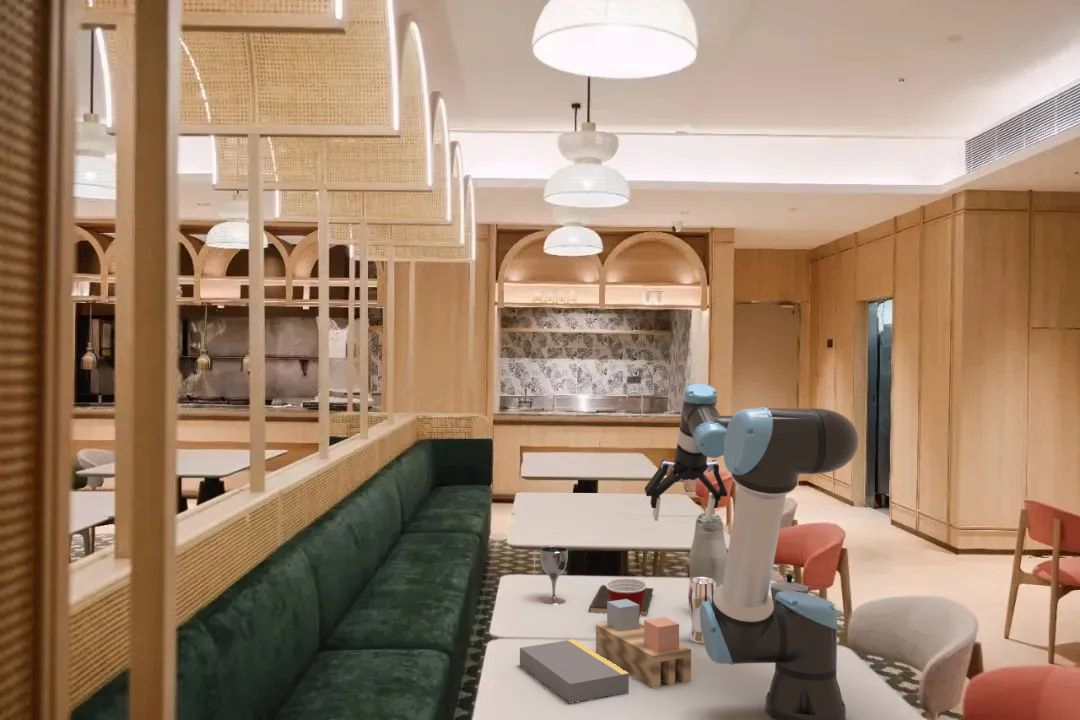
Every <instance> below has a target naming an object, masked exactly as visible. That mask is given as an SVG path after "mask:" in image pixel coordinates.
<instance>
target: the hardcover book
mask: <svg viewBox="0 0 1080 720" xmlns="http://www.w3.org/2000/svg"><path fill="white" fill-rule="evenodd" d="M653 593H654V588H651V587H650V588H649V587H647V588H646V589H645V593H644V597H643V602H642V608H641V614H640V615H641V616H640V617H646V615H647V613H646V612H648V608H649V606H650V603H649V602H651V600H652V599H651V598H652V597H653ZM609 601H610V596H609V592H608V589H607V588H606V585H605V584H602V585H600V587H599V588H598V591H597V592H596V595H595V596H594V598H593V599H592V601H591V603H590V605H589V607H588V613H589V612H590V613H592V612H597V613H596V614H605V613H607V602H609Z"/></svg>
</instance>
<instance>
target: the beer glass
mask: <svg viewBox="0 0 1080 720" xmlns="http://www.w3.org/2000/svg"><path fill="white" fill-rule="evenodd" d="M715 589H716V580H715V579H713V578H709V577H692V578H690V577H689V582H688V596H687V597H688V606H689V607H688V608H689V613H690V620H691V626H690V627H691V629H690V633H689V634H690V635H689V640H690V641H691V642H693V643H695V644H702V645H703V644H704V641H703V636H702V631H701V624H700V607H701V604H702V603H704V602H707V601H709V602H712V600H713V594H714V591H715Z"/></svg>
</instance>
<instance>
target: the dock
mask: <svg viewBox="0 0 1080 720" xmlns="http://www.w3.org/2000/svg"><path fill="white" fill-rule="evenodd" d="M519 667H521V668H522V669H524V670H525V671H527V672H528V673H529V674H530V675H532V676H533V677H534V678H536V679H537V680H538V681H539V682H541V683H542V684H544V685H545V686H546V687H548V689H550V691H551V690H552V692H554V693H555V694H556V695H557V696H559V695H560V696H561V697H560V696H559V697H560V698H562V699H563V698H564V699H565V700H564V699H563V700H564V701H566V700H567V701H568V702H570V703H572V702H577V701H582V700H587V701H590V700H589V699H592V700H595V699H594V698H598V699H600V698H599V697H603V698H606V697H605V696H608V697H610V696H609V695H613V696H616V695H615V694H618V695H622V694H621V693H623V694H626V693H627V692H629V691H630V689H629V687H630V684H629V683H630V681H629V680H630V674H629V673H627V672H626V671H624V670H623V669H621V668H619V667H618V666H616V665H614V664H613V663H611V662H610V661H608V660H606V659H605V658H603V657H602V656H600V655H598V654H597V653H596V651H593V650H592V649H590V648H589V647H587V646H585V645H584V644H583V643H580V642H578V641H577V640H576V639H567V640H561V641H555V642H554V641H553V642H548V643H542V644H535V645H529V646H522V647H519ZM627 694H628V693H627ZM567 701H566V702H567ZM568 702H567V703H568ZM582 702H583V701H582ZM570 703H569V704H570ZM577 703H578V702H577ZM572 704H573V703H572Z"/></svg>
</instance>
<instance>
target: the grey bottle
mask: <svg viewBox="0 0 1080 720" xmlns="http://www.w3.org/2000/svg"><path fill="white" fill-rule="evenodd" d="M706 512H707V511H706ZM706 512H705V511H704V512H702V513H700V514H699V515H698V517H696V520H695V524H694V525H695V528H694V533H693V534H694V535H693V540H692V543H691V547H690V552H689V579H690V578H692V577H709V578H713V579H715V580H716V588H717V587H718V586H720V585H722V584H723V581H724V574H725V568H726V561H727V554H728V549H727V545H726V540H725V533H724V522H723V519H722V517H721V516H720V515H719V514H717V513H715V512H713V515H712V521H708V518H707V515H706Z"/></svg>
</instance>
